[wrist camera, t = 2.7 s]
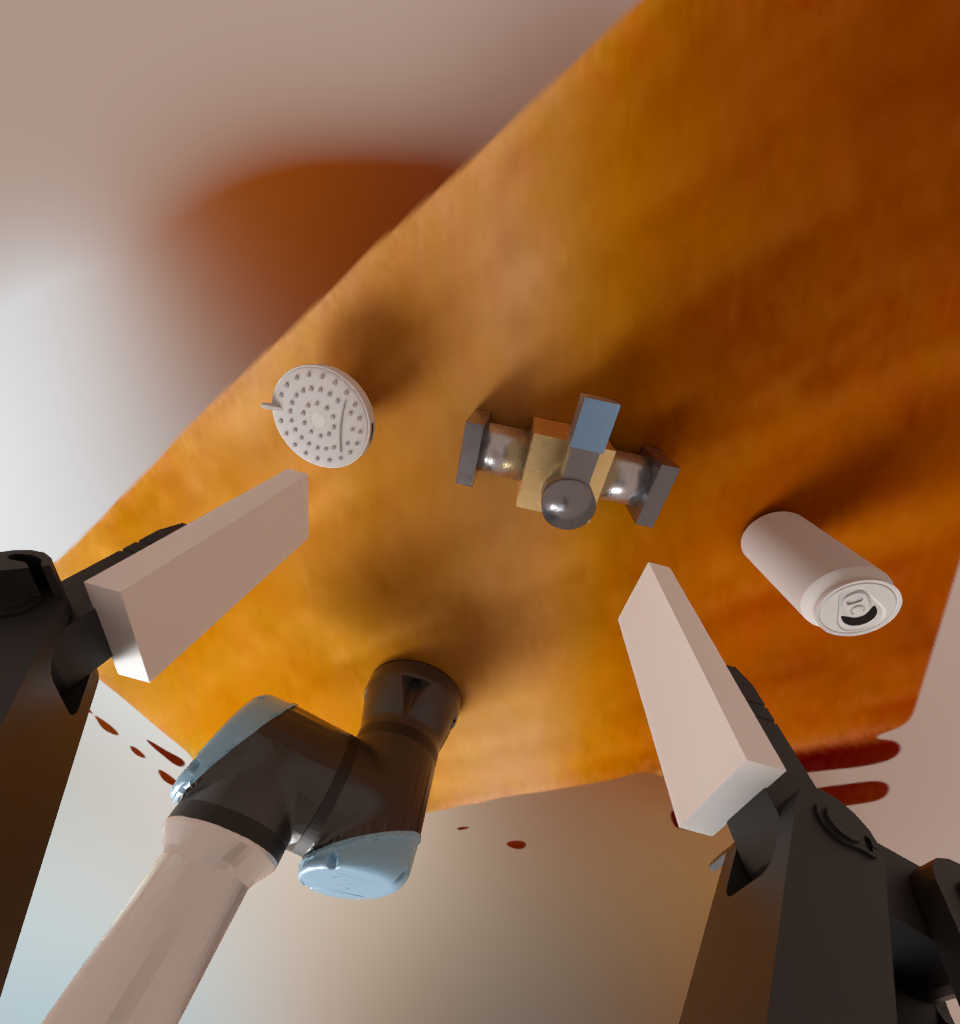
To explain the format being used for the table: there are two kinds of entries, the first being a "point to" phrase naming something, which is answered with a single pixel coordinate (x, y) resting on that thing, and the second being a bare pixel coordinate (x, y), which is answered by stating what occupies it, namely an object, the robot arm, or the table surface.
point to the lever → (579, 464)
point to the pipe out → (640, 483)
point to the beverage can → (820, 575)
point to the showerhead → (323, 415)
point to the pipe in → (491, 449)
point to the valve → (553, 462)
